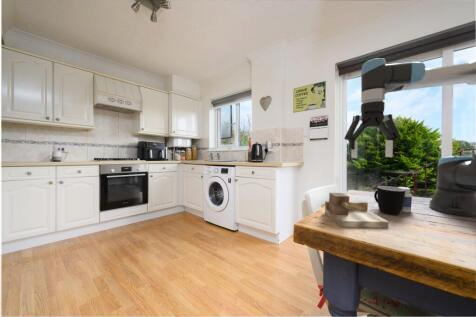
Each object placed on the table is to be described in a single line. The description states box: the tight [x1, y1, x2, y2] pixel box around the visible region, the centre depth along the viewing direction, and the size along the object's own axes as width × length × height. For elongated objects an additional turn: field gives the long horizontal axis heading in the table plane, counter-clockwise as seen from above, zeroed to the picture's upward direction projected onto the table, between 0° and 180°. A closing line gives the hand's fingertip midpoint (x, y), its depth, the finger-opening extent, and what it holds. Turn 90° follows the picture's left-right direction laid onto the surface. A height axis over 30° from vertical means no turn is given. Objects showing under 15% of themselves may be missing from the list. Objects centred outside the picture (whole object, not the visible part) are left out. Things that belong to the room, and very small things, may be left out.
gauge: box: [328, 192, 353, 215], centre depth 73 cm, size 5×11×7 cm, turn 0°
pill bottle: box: [397, 186, 413, 213], centre depth 85 cm, size 5×5×10 cm
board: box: [324, 200, 390, 228], centre depth 74 cm, size 16×13×5 cm
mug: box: [373, 185, 405, 216], centre depth 84 cm, size 12×9×10 cm
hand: (371, 157), depth 79 cm, fingers open, 13 cm apart
